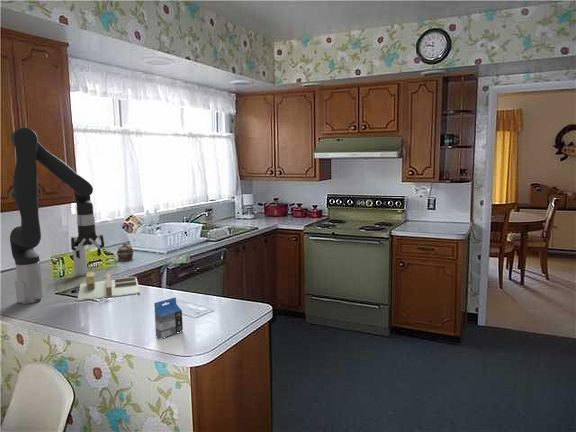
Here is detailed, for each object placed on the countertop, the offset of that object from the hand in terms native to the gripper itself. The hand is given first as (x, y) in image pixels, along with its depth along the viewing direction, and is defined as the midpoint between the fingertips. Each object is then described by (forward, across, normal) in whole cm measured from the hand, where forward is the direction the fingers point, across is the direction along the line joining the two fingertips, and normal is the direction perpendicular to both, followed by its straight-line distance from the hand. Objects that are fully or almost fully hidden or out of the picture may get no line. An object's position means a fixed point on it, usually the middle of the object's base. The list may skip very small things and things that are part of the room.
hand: (88, 257), depth 209 cm
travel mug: (+16, +6, -26) cm, 30 cm away
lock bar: (+14, 0, 0) cm, 14 cm away
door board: (+15, -8, +6) cm, 18 cm away
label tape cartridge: (+15, -27, +71) cm, 77 cm away
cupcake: (+16, -18, -54) cm, 59 cm away
